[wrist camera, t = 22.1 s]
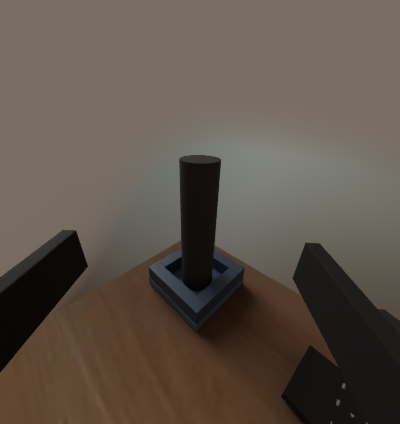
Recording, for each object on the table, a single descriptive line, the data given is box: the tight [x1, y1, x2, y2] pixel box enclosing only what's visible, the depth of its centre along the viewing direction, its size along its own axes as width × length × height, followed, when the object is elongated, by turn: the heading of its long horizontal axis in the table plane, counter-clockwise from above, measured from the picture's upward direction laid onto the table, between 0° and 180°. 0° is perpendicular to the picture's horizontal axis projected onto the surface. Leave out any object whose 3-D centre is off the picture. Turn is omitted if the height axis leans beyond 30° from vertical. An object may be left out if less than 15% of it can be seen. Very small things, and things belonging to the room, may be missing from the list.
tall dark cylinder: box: [179, 155, 221, 291], centre depth 21 cm, size 4×4×16 cm
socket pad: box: [149, 248, 245, 332], centre depth 25 cm, size 9×9×3 cm
